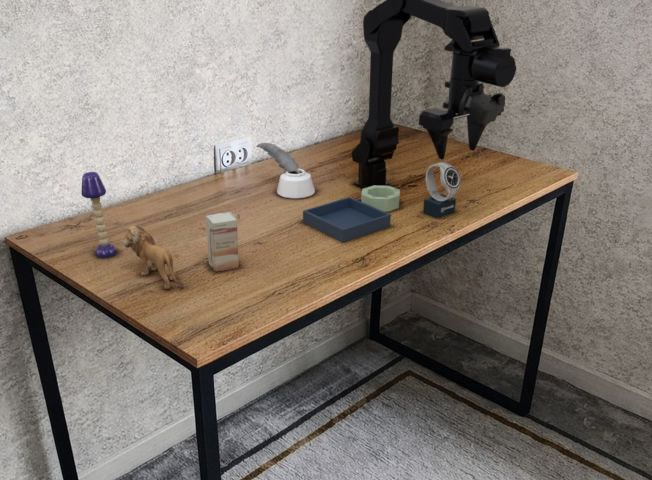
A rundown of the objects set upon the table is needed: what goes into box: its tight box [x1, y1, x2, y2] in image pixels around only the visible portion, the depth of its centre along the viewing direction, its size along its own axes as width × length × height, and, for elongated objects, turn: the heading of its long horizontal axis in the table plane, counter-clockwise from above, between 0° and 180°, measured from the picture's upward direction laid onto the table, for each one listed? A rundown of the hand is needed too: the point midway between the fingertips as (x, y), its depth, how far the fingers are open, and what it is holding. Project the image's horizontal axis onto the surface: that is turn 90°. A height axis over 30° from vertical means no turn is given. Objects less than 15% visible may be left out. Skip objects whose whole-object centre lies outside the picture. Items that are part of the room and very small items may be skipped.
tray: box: [302, 196, 392, 243], centre depth 165 cm, size 14×13×3 cm
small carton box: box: [205, 211, 240, 272], centre depth 147 cm, size 5×4×10 cm
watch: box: [422, 161, 462, 219], centre depth 168 cm, size 6×8×11 cm
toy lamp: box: [81, 171, 118, 259], centre depth 151 cm, size 5×5×17 cm
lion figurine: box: [120, 225, 185, 290], centre depth 143 cm, size 15×5×9 cm, turn 50°
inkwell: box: [256, 142, 316, 200], centre depth 183 cm, size 9×18×10 cm, turn 48°
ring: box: [360, 185, 401, 213], centre depth 175 cm, size 8×8×3 cm
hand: (456, 154), depth 160 cm, fingers open, 9 cm apart
